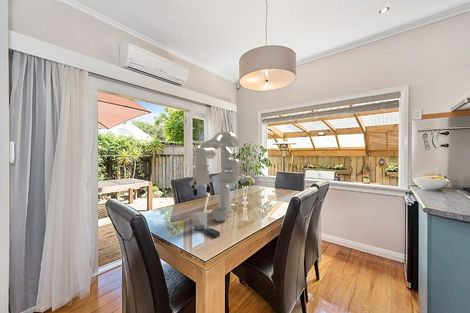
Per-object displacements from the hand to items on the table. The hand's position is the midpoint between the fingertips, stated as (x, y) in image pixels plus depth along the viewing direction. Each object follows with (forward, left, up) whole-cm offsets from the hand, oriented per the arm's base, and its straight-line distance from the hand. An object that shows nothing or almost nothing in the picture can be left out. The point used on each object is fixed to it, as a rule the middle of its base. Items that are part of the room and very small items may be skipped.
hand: (202, 193), depth 131 cm
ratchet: (+3, +9, -21) cm, 23 cm away
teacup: (-17, -2, -21) cm, 27 cm away
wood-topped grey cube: (+3, +3, -19) cm, 19 cm away
